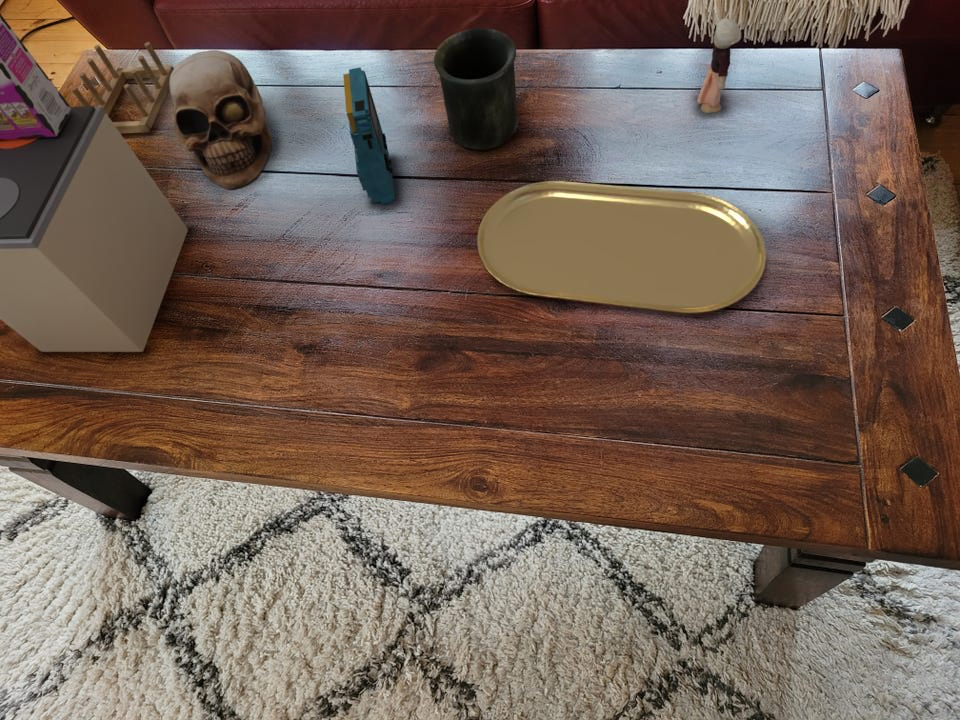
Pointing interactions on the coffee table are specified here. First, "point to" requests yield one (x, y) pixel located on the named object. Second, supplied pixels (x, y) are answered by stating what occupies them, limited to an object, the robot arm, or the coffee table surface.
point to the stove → (83, 239)
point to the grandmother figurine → (718, 65)
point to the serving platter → (622, 246)
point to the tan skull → (220, 117)
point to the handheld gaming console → (368, 139)
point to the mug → (479, 87)
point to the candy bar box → (26, 93)
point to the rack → (130, 89)
